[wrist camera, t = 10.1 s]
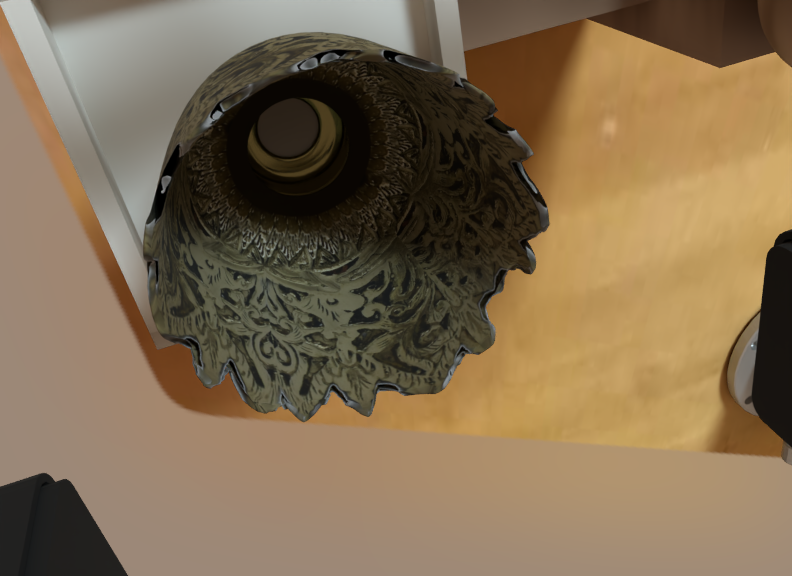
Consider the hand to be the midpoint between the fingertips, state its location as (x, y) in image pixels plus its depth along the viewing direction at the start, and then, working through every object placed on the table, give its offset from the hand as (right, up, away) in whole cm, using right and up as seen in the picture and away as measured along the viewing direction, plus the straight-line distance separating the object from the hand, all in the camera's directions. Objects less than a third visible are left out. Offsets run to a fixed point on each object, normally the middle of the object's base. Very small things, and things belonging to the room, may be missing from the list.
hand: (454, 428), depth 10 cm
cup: (-4, +6, +10) cm, 13 cm away
